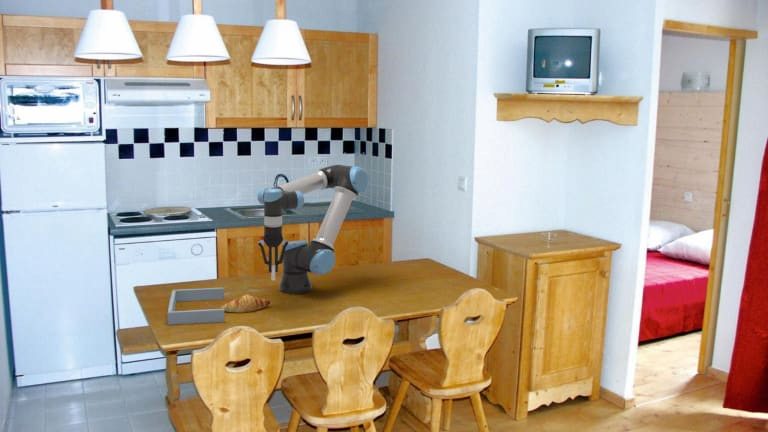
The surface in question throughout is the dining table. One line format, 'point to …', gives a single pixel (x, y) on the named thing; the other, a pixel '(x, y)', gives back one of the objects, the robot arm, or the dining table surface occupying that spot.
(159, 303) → the dining table surface
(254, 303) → the croissant
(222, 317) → the crate
